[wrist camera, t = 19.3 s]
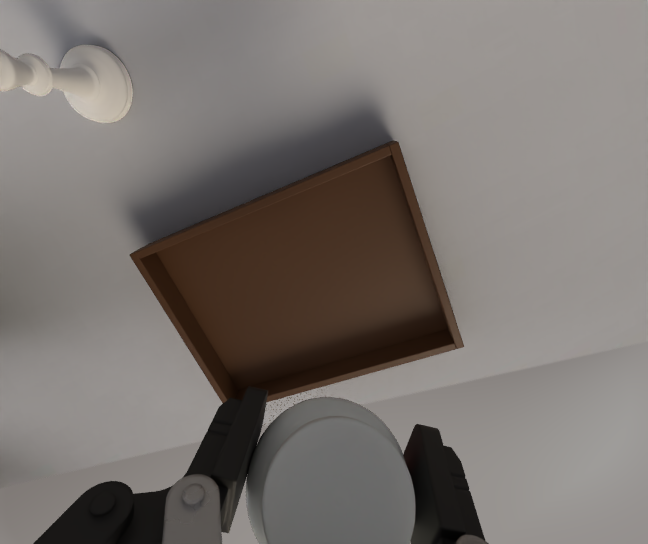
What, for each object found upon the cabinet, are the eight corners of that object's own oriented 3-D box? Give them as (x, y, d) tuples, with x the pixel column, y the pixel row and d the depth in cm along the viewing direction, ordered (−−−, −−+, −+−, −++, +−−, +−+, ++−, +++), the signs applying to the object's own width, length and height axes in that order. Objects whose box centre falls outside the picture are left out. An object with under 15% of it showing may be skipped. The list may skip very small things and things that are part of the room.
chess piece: (116, 37, 24) (-32, -18, 15) (143, 115, 26) (25, 109, 17) (53, 54, 25) (-125, 12, 16) (83, 129, 27) (-61, 130, 17)
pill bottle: (388, 444, 19) (479, 472, 10) (330, 549, 17) (374, 708, 8) (304, 382, 19) (313, 352, 10) (240, 475, 18) (182, 539, 8)
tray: (393, 140, 25) (398, 141, 23) (455, 328, 30) (464, 347, 28) (148, 243, 30) (128, 254, 27) (238, 391, 35) (228, 412, 32)
